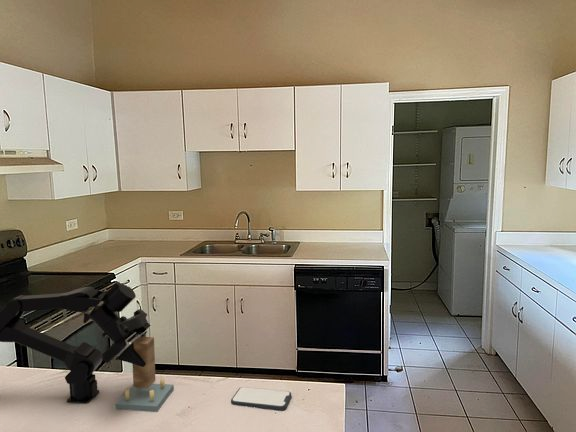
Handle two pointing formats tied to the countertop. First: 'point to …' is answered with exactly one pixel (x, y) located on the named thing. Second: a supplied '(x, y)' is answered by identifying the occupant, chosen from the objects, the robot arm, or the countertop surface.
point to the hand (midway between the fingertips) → (148, 361)
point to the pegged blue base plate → (145, 397)
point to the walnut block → (145, 374)
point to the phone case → (261, 398)
